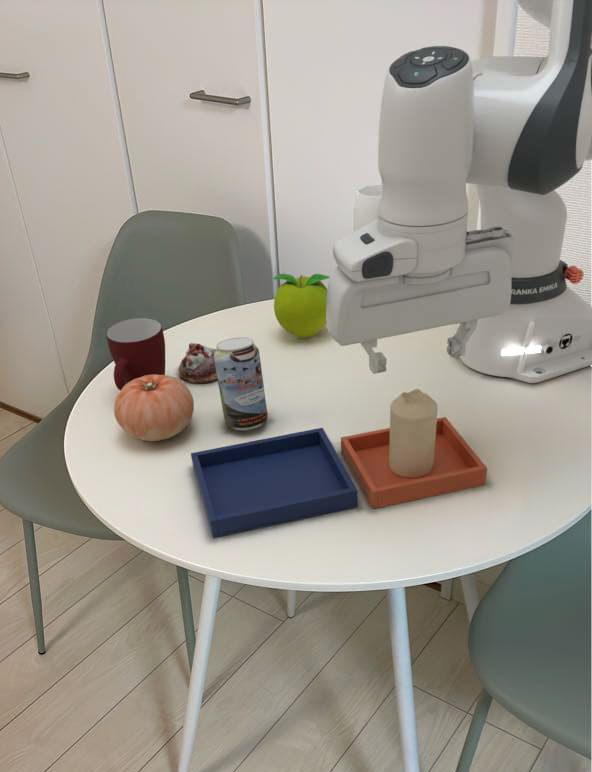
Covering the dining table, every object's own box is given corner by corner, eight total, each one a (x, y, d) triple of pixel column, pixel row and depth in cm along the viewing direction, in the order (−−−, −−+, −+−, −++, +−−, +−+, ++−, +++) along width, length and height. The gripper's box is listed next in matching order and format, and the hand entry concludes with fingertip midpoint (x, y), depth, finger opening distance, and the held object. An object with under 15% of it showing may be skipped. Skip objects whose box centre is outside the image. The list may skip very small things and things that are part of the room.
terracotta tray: (444, 432, 100) (445, 416, 99) (485, 485, 91) (487, 468, 89) (341, 453, 98) (340, 437, 97) (372, 509, 89) (372, 492, 87)
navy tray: (323, 443, 100) (322, 427, 99) (357, 507, 89) (357, 490, 88) (193, 469, 98) (190, 453, 96) (212, 538, 87) (209, 521, 85)
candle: (383, 474, 93) (385, 403, 87) (395, 450, 97) (397, 381, 91) (427, 481, 91) (432, 410, 85) (438, 457, 95) (443, 386, 89)
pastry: (171, 380, 116) (165, 350, 113) (192, 358, 122) (188, 329, 118) (218, 386, 114) (213, 356, 111) (237, 363, 119) (234, 334, 116)
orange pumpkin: (109, 426, 107) (97, 376, 102) (179, 404, 111) (170, 354, 106) (136, 462, 100) (124, 410, 95) (210, 436, 103) (202, 384, 98)
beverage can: (236, 441, 102) (225, 361, 94) (214, 417, 107) (203, 339, 99) (277, 428, 104) (270, 347, 96) (254, 405, 109) (246, 327, 101)
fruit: (280, 322, 130) (275, 264, 123) (334, 322, 128) (332, 264, 122) (272, 346, 123) (267, 287, 116) (328, 347, 122) (326, 286, 115)
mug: (156, 415, 109) (142, 352, 102) (105, 412, 110) (88, 349, 104) (181, 380, 116) (170, 319, 110) (132, 377, 118) (119, 316, 112)
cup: (366, 331, 125) (367, 200, 111) (347, 316, 130) (344, 188, 117) (405, 321, 127) (409, 191, 113) (383, 306, 132) (386, 180, 118)
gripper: (502, 213, 80) (489, 333, 89) (318, 246, 77) (324, 366, 87) (530, 233, 76) (514, 357, 85) (336, 269, 73) (340, 393, 82)
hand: (416, 362), depth 86 cm, fingers open, 8 cm apart
